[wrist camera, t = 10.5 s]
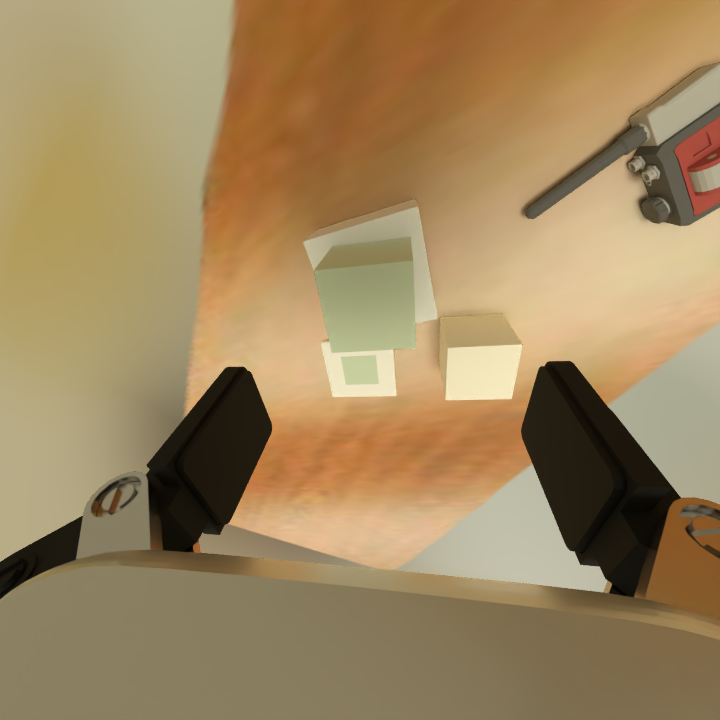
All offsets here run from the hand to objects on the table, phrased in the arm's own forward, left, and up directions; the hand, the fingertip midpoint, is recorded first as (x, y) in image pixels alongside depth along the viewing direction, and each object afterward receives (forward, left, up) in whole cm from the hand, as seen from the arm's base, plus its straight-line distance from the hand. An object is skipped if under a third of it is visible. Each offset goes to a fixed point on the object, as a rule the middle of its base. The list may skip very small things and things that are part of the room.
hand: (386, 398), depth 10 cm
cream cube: (+10, +7, -21) cm, 24 cm away
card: (+13, -5, -21) cm, 25 cm away
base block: (+2, -2, -21) cm, 21 cm away
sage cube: (+1, -2, -16) cm, 16 cm away
